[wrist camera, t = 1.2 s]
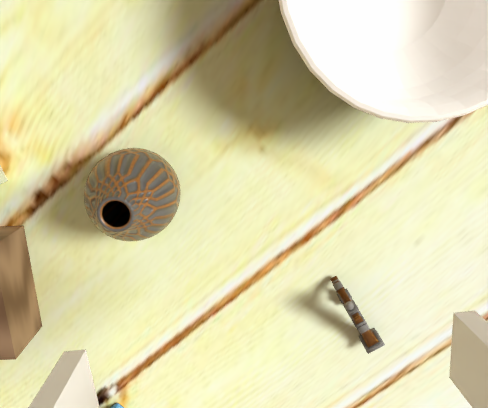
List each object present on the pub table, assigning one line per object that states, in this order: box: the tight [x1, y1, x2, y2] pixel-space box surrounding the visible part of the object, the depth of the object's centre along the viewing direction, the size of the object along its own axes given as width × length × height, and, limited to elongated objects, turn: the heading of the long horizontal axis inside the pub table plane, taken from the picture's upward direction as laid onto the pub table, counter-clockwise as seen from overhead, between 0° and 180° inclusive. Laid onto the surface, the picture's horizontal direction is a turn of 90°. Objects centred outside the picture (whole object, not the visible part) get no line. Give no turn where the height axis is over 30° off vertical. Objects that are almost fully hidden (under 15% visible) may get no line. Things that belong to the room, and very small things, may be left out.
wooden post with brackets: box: [330, 276, 385, 354], centre depth 36 cm, size 2×8×4 cm, turn 31°
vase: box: [84, 148, 180, 241], centre depth 29 cm, size 7×7×9 cm
